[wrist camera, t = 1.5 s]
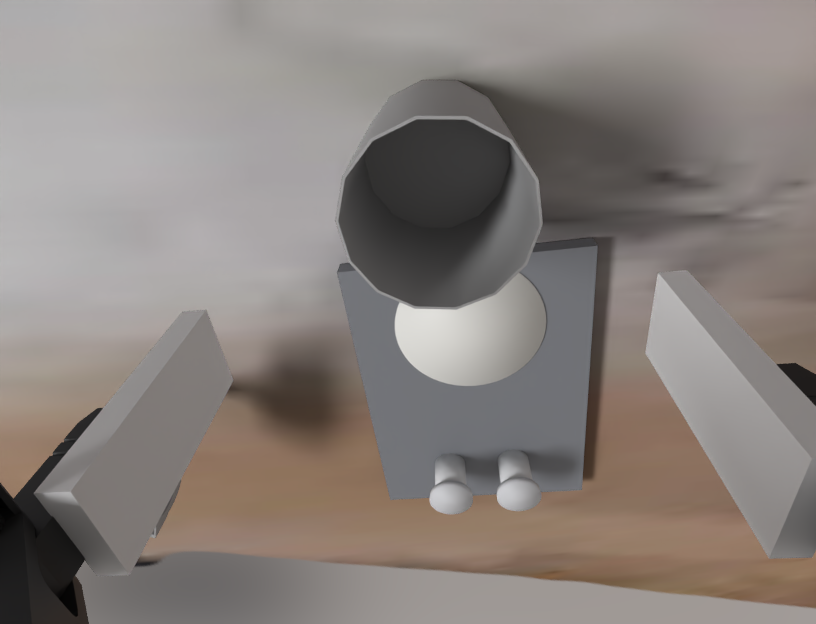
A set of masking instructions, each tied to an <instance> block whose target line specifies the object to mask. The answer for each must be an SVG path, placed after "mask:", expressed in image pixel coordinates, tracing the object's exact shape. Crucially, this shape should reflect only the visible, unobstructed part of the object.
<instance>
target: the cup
mask: <svg viewBox="0 0 816 624" xmlns="http://www.w3.org/2000/svg"><path fill="white" fill-rule="evenodd" d="M335 222H336V225H337V229H338V232H339V235H340V238H341V241H342V244H343V247H344V250H345V253H346V257H347V260H348V262H349V263H350V264H351V265H352V266H353V267H354V269H355V270H356V271H357V272H358V273H359V274H360V275H361V276H362V277H363V278H364V279H365V280H366V281H367V282H368V284H369V285H370V286H371V287H372V288H373V289H374V290H375V291H376V292H377V293H380V294H382V295H384V296H387V297H389V298H391V299H393V300H396V301H398V302H400V303H403V304H405V305H407V306H410V307H412V308H414V309H451V310H457V309H459V308H462V307H465V306H467V305H470V304H473V303H475V302H478V301H480V300H483V299H486V298H488V297H491V296H494V295H496V294H497V293H498V292H499V291H500V290H501V289H502V288H503V287H504V286H505V285H507V284H508V283H509V282H510V281H511V280H512V279H513V278H514V277H515V276H516V275H517V274H518V273H519V272H520V271H521V270H522V269H523V268H524V267H525V266H526V265H527V264H528V261H529V258H530V256H531V253H532V251H533V248H534V246H535V243H536V241H537V238H538V236H539V233H540V231H541V228H542V225H543V220H542V209H541V199H540V189H539V179H538V177H537V176H536V174H535V172H534V171H533V169H532V167H531V166H530V164H529V162H528V161H527V159H526V157H525V155H524V154H523V152H522V150H521V149H520V147H519V145H518V144H517V142H516V140H515V139H514V137H513V135H512V133H511V132H510V130H509V128H508V127H507V125H506V124H505V122H504V121H503V119H502V118H501V116H500V115H499V113H498V112H497V110H496V109H495V107H494V106H493V104H492V103H491V101H490V100H489V98H488V97H487V96H485V95H483V94H481V93H480V92H478V91H476V90H474V89H472V88H470V87H469V86H467V85H465V84H463V83H461V82H459V81H458V80H421V81H419V82H417V83H415V84H413V85H411V86H409V87H408V88H406V89H404V90H402V91H400V92H398V93H396V94H394V95H392V96H390V98H389V99H388V101H387V102H386V103H385V105H384V106H383V107H382V109H381V110H380V112H379V113H378V114H377V116H376V117H375V119H374V120H373V121H372V123H371V124H370V126H369V128H368V130H367V131H366V133H365V135H364V137H363V139H362V141H361V143H360V144H359V146H358V148H357V150H356V152H355V154H354V156H353V158H352V159H351V161H350V163H349V165H348V167H347V169H346V171H345V173H344V174H343V176H342V181H341V187H340V194H339V200H338V206H337V213H336V219H335Z"/></svg>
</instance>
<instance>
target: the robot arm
mask: <svg viewBox="0 0 816 624" xmlns="http://www.w3.org/2000/svg"><path fill="white" fill-rule="evenodd" d="M645 353H646V355H647V356H648V358H649V360H650V361H651V363H652V365H653V366H654V368H655V370H656V371H657V373H658V375H659V376H660V378H661V380H662V381H663V383H664V385H665V386H666V388H667V390H668V391H669V393H670V395H671V396H672V398H673V400H674V401H675V403H676V405H677V406H678V408H679V410H680V411H681V413H682V415H683V416H684V418H685V420H686V421H687V423H688V425H689V426H690V428H691V429H692V431H693V433H694V434H695V436H696V438H697V439H698V441H699V443H700V444H701V446H702V448H703V449H704V451H705V453H706V454H707V456H708V458H709V459H710V461H711V463H712V464H713V466H714V468H715V469H716V471H717V473H718V474H719V476H720V478H721V479H722V481H723V483H724V484H725V486H726V488H727V489H728V491H729V493H730V494H731V496H732V498H733V499H734V501H735V503H736V504H737V506H738V508H739V509H740V511H741V512H742V514H743V516H744V517H745V519H746V521H747V522H748V524H749V526H750V527H751V529H752V531H753V532H754V534H755V536H756V537H757V539H758V541H759V542H760V544H761V546H762V547H763V549H764V551H765V552H766V554H767V556H768V557H769V559H771V558H810V557H813V555H814V553H815V551H816V374H814V373H812V372H810V371H809V370H807V369H805V368H803V367H802V366H800V365H798V364H796V363H789V364H775V363H774V362H773V361H772V359H771V358H770V357H769V356H768V355H767V354H766V353H765V352H764V351H763V350H762V349H761V348H760V347H759V346H758V345H757V344H756V343H755V342H754V340H753V339H752V338H751V337H750V336H749V335H748V334H747V333H746V332H745V331H744V330H743V329H742V328H741V327H740V326H739V325H738V324H737V322H736V321H735V320H734V319H733V318H732V317H731V316H730V315H729V314H728V313H727V312H726V311H725V310H724V309H723V308H722V307H721V306H720V304H719V303H718V302H717V301H716V300H715V299H714V298H713V297H712V296H711V295H710V294H709V293H708V292H707V291H706V290H705V289H704V288H703V287H702V285H701V284H700V283H699V282H698V281H697V280H696V279H695V278H694V277H693V276H692V275H691V274H690V273H689V272H688V271H687V270H683V271H671V272H659V273H658V276H657V282H656V288H655V295H654V301H653V308H652V314H651V320H650V327H649V333H648V340H647V346H646V352H645ZM233 381H234V380H233V378H232V375H231V373H230V370H229V367H228V365H227V362H226V360H225V357H224V355H223V352H222V349H221V347H220V344H219V342H218V339H217V336H216V334H215V331H214V329H213V326H212V323H211V321H210V318H209V316H208V313H207V310H198V311H185V312H182V313H181V314H180V315H179V316H178V318H177V319H176V320H175V321H174V323H173V324H172V325H171V326H170V327H169V329H168V330H167V331H166V332H165V333H164V335H163V336H162V337H161V338H160V340H159V341H158V342H157V343H156V344H155V346H154V347H153V348H152V349H151V351H150V352H149V353H148V354H147V355H146V357H145V358H144V359H143V360H142V362H141V363H140V364H139V365H138V366H137V368H136V369H135V370H134V371H133V373H132V374H131V375H130V376H129V377H128V379H127V380H126V381H125V382H124V384H123V385H122V386H121V387H120V388H119V390H118V391H117V392H116V393H115V394H114V396H113V397H112V398H111V399H110V401H109V402H108V403H107V404H106V405H105V407H104V408H97V409H96V410H95V411H93V412H92V413H91V414H89V415H88V416H87V417H85V418H84V419H83V420H81V421H80V422H79V423H78V424H77V425H76V426H75V427H74V428H73V429H72V431H71V432H70V433H69V434H68V435H67V436H66V438H65V439H64V442H63V443H60V445H59V446H58V447H57V448H56V449H55V451H54V452H53V456H49V458H48V459H47V460H46V461H45V462H44V463H43V465H42V466H41V467H40V468H39V469H38V471H37V472H36V473H35V474H34V475H33V476H32V478H31V479H30V480H29V481H28V482H27V483H26V485H25V486H24V487H23V488H22V489H21V490H20V492H19V493H18V494H17V495H16V496H15V498H14V499H13V498H12V497H11V495H10V494H9V493H8V492H7V490H6V489H5V488H4V487H3V486H2V484H1V483H0V624H89V622H88V617H87V612H86V606H85V601H84V596H83V590H82V585H81V584H80V582H79V580H78V579H77V577H76V576H75V574H76V573H77V571H78V570H79V568H80V567H81V565H82V563H83V562H84V560H85V561H86V562H87V564H88V565H89V566H90V568H91V569H92V570H93V572H94V573H95V574H96V576H119V575H130V573H131V571H132V569H133V568H134V566H135V564H136V562H137V560H138V558H139V556H140V555H141V553H142V551H143V549H144V547H145V545H146V543H147V541H148V540H149V538H150V536H151V534H152V532H153V530H154V528H155V527H156V525H157V523H158V521H159V519H160V517H161V515H162V513H163V512H164V510H165V508H166V506H167V504H168V502H169V500H170V498H171V497H172V495H173V493H174V491H175V489H176V487H177V485H178V483H179V482H180V480H181V478H182V476H183V474H184V472H185V470H186V469H187V467H188V465H189V463H190V461H191V459H192V457H193V455H194V454H195V452H196V450H197V448H198V446H199V444H200V442H201V440H202V439H203V437H204V435H205V433H206V431H207V429H208V427H209V425H210V424H211V422H212V420H213V418H214V416H215V414H216V412H217V411H218V409H219V407H220V405H221V403H222V401H223V399H224V397H225V396H226V394H227V392H228V390H229V388H230V386H231V384H232V382H233Z"/></svg>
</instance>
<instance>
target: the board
mask: <svg viewBox="0 0 816 624" xmlns="http://www.w3.org/2000/svg"><path fill="white" fill-rule="evenodd" d="M597 250H598V245H597V244H596V242H595V241H594V239H593V238H585V239H576V240H566V241H557V242H547V243H538V244H535V246H534V248H533V251H532V253H531V256H530V258H529V261H528V264H527V265H526V266H525V267H524V268H523V269H522V270H521V271H520V272H519V273H518V274H517V275H516V276H515V277H514V278H513V279H512V280H511V281H510V282H509V283H508V284H507V285H505V286H504V287H503V288H502V289H501V290H500V291H499V292H498V293H497V294H496V295H494V296H491V297H488V298H486V299H483V300H480V301H478V302H475V303H473V304H470V305H467V306H465V307H462V308H459V309H457V310H451V309H414V308H412V307H410V306H407V305H405V304H403V303H400V302H398V301H396V300H393V299H391V298H389V297H387V296H384V295H382V294H380V293H377V292H376V291H375V290H374V289H373V288H372V287H371V286H370V285H369V284H368V282H367V281H366V280H365V279H364V278H363V277H362V276H361V275H360V274H359V273H358V272H357V271H356V270H355V269H354V267H353V266H352V265H351V264H350V263H346V264H340V266H339V269H338V271H337V274H338V279H339V283H340V287H341V291H342V296H343V300H344V304H345V308H346V313H347V317H348V321H349V326H350V330H351V334H352V338H353V343H354V347H355V351H356V355H357V360H358V364H359V368H360V372H361V377H362V381H363V385H364V389H365V394H366V398H367V402H368V406H369V411H370V415H371V419H372V423H373V428H374V432H375V436H376V440H377V445H378V449H379V453H380V458H381V462H382V466H383V470H384V475H385V479H386V483H387V487H388V492H389V496H390V500H394V499H414V498H430V504H431V505H432V507H433V508H434V509H435V510H437V511H439V512H441V513H445V514H459V513H462V512H464V511H466V510H468V509H469V508H470V507H471V505H472V503H473V495H493V494H497V500H498V502H499V504H500V505H501V506H502V507H504V508H506V509H508V510H512V511H524V510H528V509H531V508H533V507H535V506H536V505H537V504H538V503H539V502H540V500H541V492H552V491H571V490H582V479H583V464H584V448H585V433H586V418H587V403H588V387H589V372H590V357H591V342H592V326H593V311H594V296H595V280H596V265H597Z"/></svg>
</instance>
